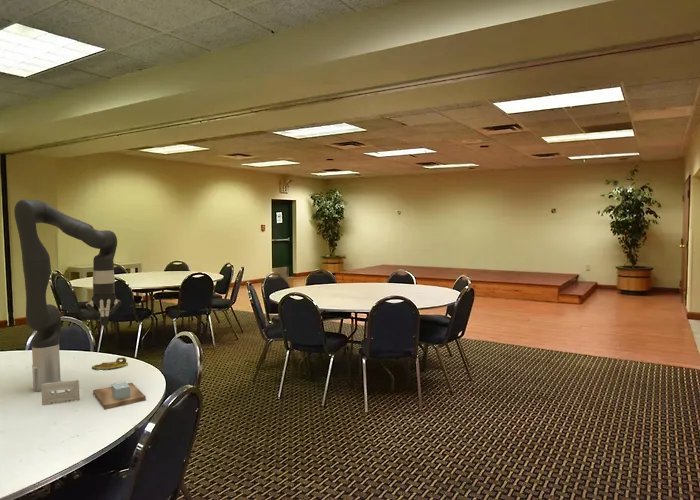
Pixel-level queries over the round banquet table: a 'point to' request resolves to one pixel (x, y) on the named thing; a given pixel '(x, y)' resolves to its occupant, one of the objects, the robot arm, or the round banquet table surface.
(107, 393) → the board
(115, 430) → the round banquet table surface
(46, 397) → the cassette
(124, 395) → the grey-green box
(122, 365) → the gold looped flat piece
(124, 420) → the round banquet table surface
